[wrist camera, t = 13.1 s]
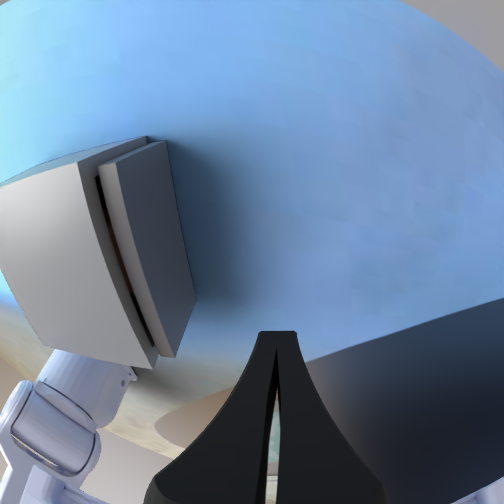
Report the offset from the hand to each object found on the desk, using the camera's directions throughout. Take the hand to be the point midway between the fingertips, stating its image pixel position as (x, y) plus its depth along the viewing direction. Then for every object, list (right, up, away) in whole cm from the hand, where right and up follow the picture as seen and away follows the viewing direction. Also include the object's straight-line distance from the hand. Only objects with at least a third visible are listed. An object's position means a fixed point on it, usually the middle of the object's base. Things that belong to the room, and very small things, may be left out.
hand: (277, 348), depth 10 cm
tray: (-11, +5, +9) cm, 15 cm away
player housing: (-13, +5, +9) cm, 16 cm away
